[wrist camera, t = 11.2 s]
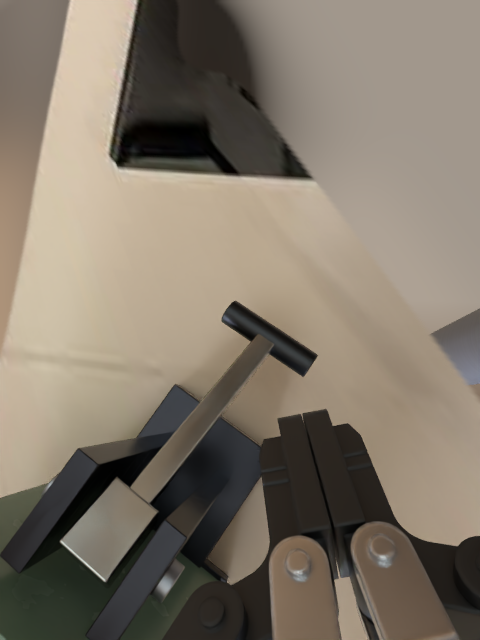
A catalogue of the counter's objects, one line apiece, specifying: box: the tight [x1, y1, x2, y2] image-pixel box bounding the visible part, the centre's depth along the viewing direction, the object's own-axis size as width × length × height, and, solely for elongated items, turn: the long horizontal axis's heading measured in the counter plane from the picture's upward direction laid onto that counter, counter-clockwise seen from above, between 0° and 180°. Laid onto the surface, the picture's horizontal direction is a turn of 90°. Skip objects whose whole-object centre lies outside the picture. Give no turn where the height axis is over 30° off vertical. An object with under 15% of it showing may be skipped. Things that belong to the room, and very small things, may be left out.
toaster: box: [0, 483, 228, 640], centre depth 19 cm, size 9×12×15 cm
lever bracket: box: [0, 384, 262, 640], centre depth 21 cm, size 10×8×14 cm
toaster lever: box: [59, 301, 318, 589], centre depth 19 cm, size 14×6×2 cm
